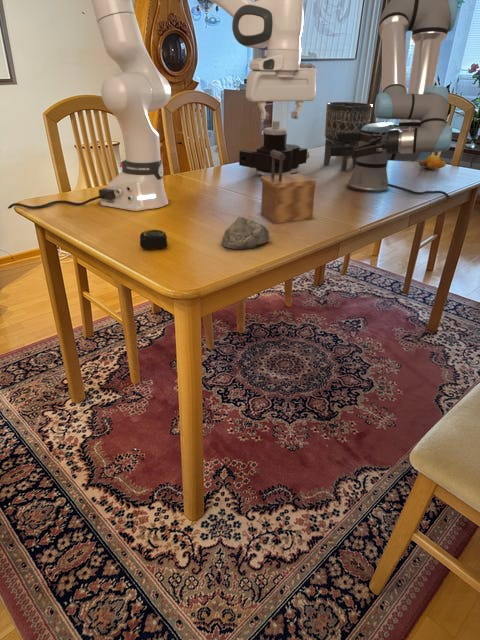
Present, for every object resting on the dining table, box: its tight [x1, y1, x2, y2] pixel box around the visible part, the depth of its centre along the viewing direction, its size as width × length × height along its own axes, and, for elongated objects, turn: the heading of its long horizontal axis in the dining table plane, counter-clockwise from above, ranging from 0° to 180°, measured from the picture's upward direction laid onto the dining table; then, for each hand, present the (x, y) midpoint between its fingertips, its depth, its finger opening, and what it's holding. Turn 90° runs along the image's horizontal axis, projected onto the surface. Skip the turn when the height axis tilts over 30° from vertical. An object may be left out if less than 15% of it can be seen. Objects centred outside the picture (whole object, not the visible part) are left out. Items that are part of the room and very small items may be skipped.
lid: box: [259, 150, 317, 188], centre depth 136 cm, size 14×10×9 cm
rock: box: [221, 216, 270, 250], centre depth 119 cm, size 13×9×6 cm, turn 131°
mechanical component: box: [238, 120, 311, 177], centre depth 191 cm, size 22×21×30 cm
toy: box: [417, 154, 447, 171], centre depth 211 cm, size 11×6×15 cm
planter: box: [323, 101, 374, 172], centre depth 204 cm, size 20×20×26 cm
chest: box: [260, 181, 316, 224], centre depth 141 cm, size 13×10×11 cm
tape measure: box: [139, 229, 168, 250], centre depth 117 cm, size 7×7×4 cm
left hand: (279, 119), depth 128 cm, fingers open, 8 cm apart
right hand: (334, 144), depth 155 cm, fingers open, 13 cm apart
